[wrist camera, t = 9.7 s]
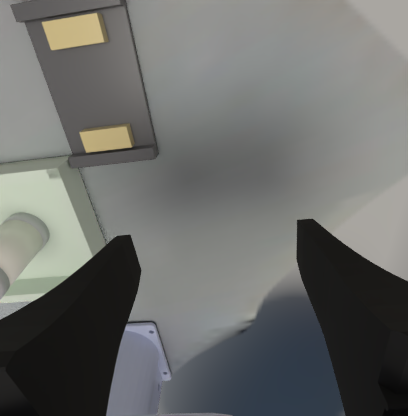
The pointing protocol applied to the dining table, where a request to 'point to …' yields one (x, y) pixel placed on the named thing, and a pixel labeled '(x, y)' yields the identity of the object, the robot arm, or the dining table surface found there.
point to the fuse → (19, 245)
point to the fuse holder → (92, 78)
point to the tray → (50, 221)
